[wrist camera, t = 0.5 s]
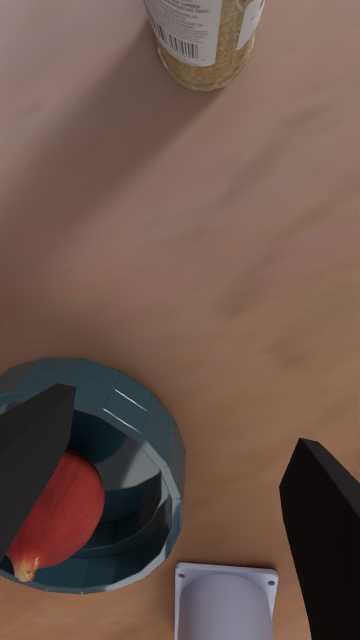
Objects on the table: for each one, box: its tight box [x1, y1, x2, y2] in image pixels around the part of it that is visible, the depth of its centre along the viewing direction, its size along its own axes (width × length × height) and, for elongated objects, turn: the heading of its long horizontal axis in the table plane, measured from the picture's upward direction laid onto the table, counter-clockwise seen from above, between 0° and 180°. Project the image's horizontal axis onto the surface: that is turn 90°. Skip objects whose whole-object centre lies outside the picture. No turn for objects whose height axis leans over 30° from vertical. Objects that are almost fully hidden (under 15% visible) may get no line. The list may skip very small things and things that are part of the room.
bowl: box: [0, 358, 185, 594], centre depth 22 cm, size 15×15×4 cm
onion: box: [6, 448, 105, 582], centre depth 20 cm, size 6×6×8 cm
